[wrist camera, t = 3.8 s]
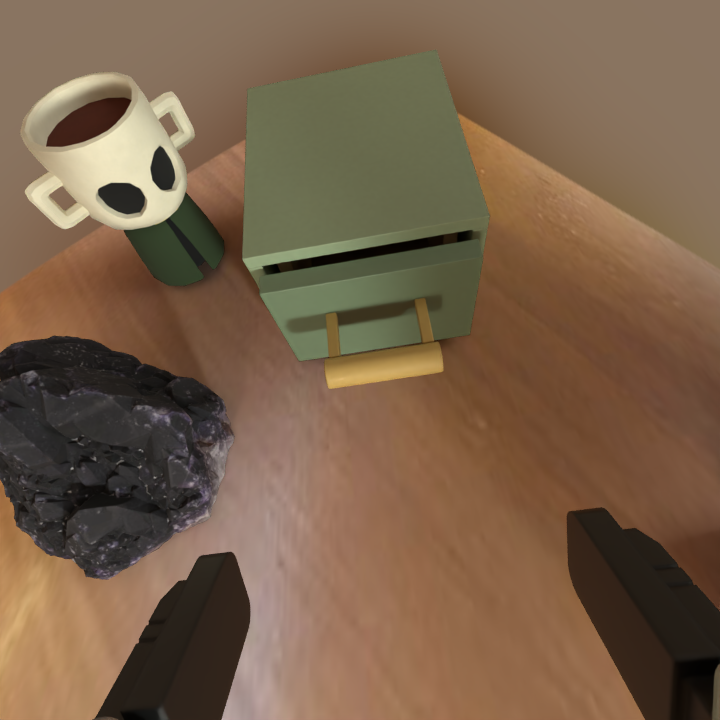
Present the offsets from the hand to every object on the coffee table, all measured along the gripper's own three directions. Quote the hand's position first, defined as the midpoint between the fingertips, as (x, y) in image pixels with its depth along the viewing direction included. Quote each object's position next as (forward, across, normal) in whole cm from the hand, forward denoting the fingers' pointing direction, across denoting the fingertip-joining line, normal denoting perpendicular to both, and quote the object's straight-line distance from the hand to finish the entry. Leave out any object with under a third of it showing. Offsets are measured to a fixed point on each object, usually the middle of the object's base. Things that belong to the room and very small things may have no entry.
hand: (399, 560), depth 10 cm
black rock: (+16, +17, +5) cm, 24 cm away
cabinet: (+26, 0, -5) cm, 27 cm away
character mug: (+28, +15, -7) cm, 32 cm away
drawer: (+22, 0, -3) cm, 22 cm away
